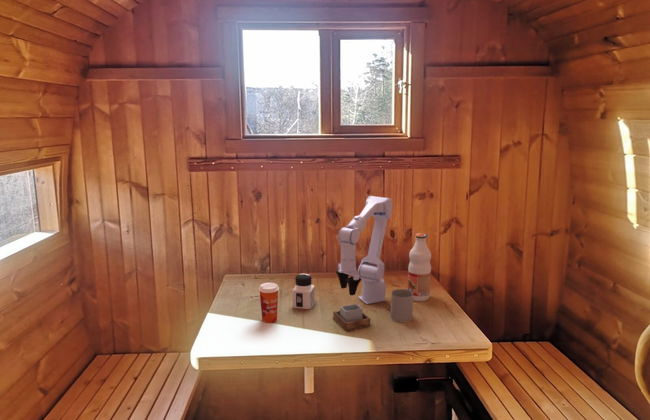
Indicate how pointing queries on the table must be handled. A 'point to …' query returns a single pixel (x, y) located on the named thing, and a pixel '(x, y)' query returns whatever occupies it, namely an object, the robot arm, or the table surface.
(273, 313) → the paper cup
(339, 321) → the walnut crate
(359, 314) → the gray crate
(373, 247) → the robot arm
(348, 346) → the table surface
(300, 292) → the container
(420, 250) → the fruit juice
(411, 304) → the cup
